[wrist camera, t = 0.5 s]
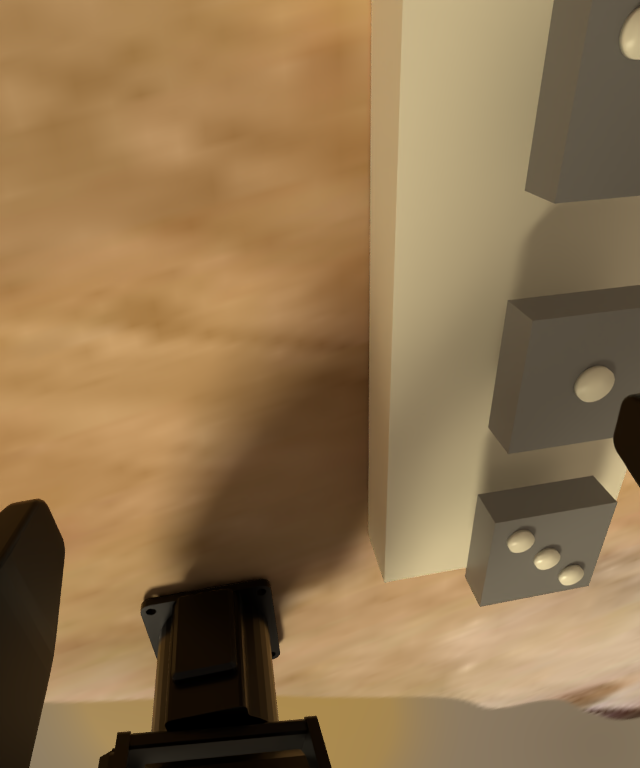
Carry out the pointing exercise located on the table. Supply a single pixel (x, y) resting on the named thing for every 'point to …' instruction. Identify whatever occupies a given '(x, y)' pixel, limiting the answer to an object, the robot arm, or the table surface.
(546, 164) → the button two pips
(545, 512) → the button three pips
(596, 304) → the button one pip
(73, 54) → the table surface
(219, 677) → the robot arm
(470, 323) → the panel
